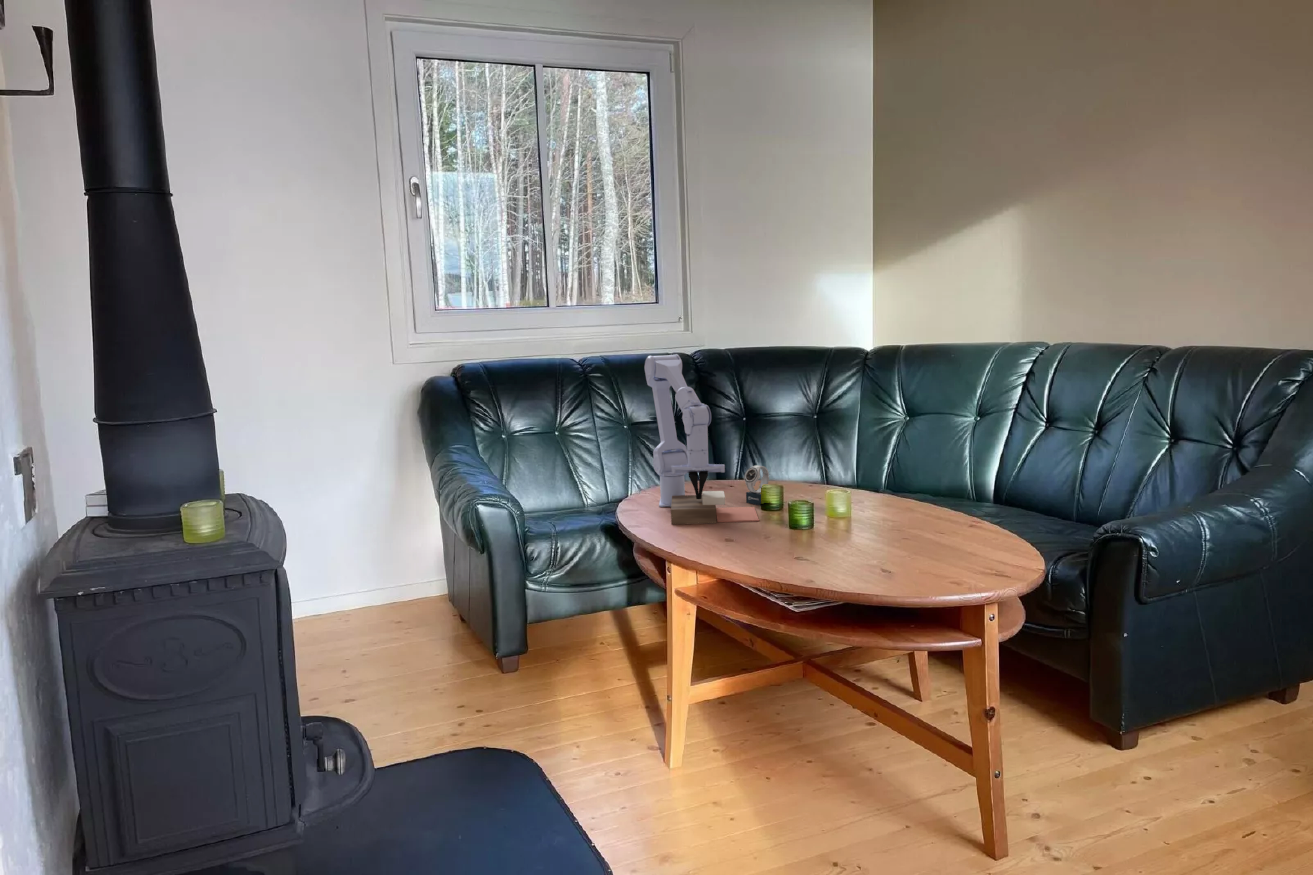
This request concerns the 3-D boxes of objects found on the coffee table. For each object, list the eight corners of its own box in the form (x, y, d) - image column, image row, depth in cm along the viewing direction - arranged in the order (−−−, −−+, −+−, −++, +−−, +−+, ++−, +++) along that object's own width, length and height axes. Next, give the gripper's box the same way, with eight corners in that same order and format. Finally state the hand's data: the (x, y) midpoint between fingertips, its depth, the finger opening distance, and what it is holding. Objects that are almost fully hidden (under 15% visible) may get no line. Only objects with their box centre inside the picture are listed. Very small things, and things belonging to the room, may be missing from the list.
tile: (702, 498, 237) (702, 491, 236) (723, 497, 236) (723, 490, 236) (702, 505, 228) (702, 497, 227) (725, 504, 227) (724, 497, 227)
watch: (741, 503, 246) (741, 466, 245) (760, 499, 252) (759, 463, 250) (756, 506, 242) (755, 468, 241) (774, 502, 247) (773, 465, 246)
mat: (715, 509, 241) (715, 507, 240) (754, 508, 240) (754, 506, 240) (717, 522, 225) (717, 520, 225) (758, 521, 224) (758, 519, 224)
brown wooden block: (672, 509, 242) (672, 495, 241) (714, 508, 242) (714, 494, 241) (671, 524, 224) (670, 509, 224) (716, 523, 224) (716, 508, 223)
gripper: (670, 452, 227) (672, 502, 228) (724, 451, 226) (725, 500, 228) (671, 448, 234) (672, 496, 235) (723, 447, 233) (724, 495, 235)
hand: (698, 498), depth 232 cm, fingers closed
